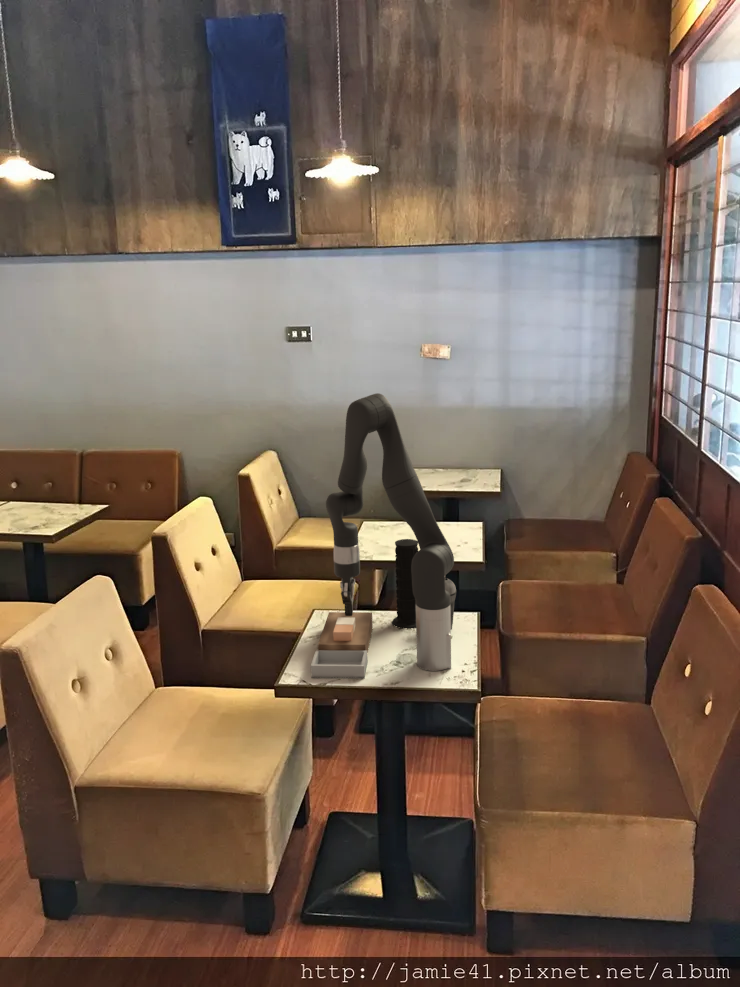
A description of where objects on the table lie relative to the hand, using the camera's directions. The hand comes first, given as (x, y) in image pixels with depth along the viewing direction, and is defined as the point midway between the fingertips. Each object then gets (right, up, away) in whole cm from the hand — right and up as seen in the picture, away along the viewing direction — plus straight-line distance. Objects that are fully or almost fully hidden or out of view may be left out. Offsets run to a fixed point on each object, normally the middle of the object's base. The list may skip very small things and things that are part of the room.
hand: (349, 614), depth 240 cm
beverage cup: (+28, -5, +3) cm, 29 cm away
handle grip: (+18, -4, +9) cm, 20 cm away
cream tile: (-1, -3, -8) cm, 8 cm away
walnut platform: (0, -7, -6) cm, 9 cm away
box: (-2, -11, -22) cm, 25 cm away
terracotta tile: (-1, -4, -13) cm, 14 cm away
